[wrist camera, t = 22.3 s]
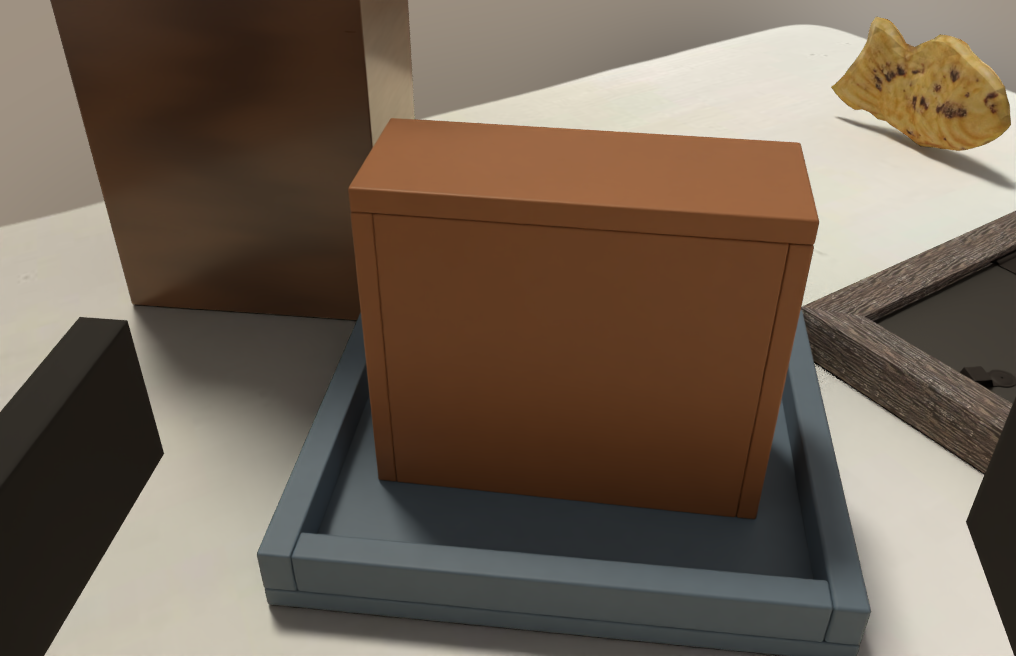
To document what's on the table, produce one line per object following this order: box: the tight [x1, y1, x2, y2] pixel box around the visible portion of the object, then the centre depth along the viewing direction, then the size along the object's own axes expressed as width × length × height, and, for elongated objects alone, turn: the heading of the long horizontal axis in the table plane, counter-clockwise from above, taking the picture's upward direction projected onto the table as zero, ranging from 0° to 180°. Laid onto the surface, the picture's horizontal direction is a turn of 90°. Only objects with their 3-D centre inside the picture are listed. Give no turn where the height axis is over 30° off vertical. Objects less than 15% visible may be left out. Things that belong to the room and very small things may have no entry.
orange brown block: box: [348, 118, 819, 519], centre depth 24 cm, size 10×4×9 cm, turn 82°
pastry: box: [831, 17, 1011, 151], centre depth 43 cm, size 9×2×5 cm, turn 36°
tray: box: [257, 310, 871, 656], centre depth 27 cm, size 14×12×2 cm
